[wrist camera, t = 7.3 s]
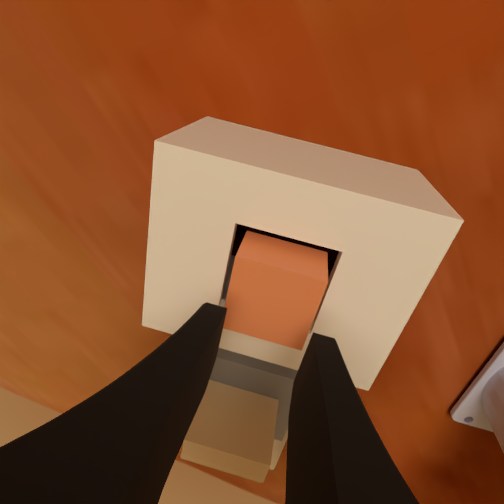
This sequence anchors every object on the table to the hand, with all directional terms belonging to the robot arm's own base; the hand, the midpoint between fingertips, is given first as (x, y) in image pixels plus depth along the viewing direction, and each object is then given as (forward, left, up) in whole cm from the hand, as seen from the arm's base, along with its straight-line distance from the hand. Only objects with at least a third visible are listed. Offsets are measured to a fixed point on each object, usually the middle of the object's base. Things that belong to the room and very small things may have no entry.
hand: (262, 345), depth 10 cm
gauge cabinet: (0, 0, -9) cm, 9 cm away
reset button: (0, 0, -4) cm, 4 cm away
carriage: (0, +9, -8) cm, 12 cm away
